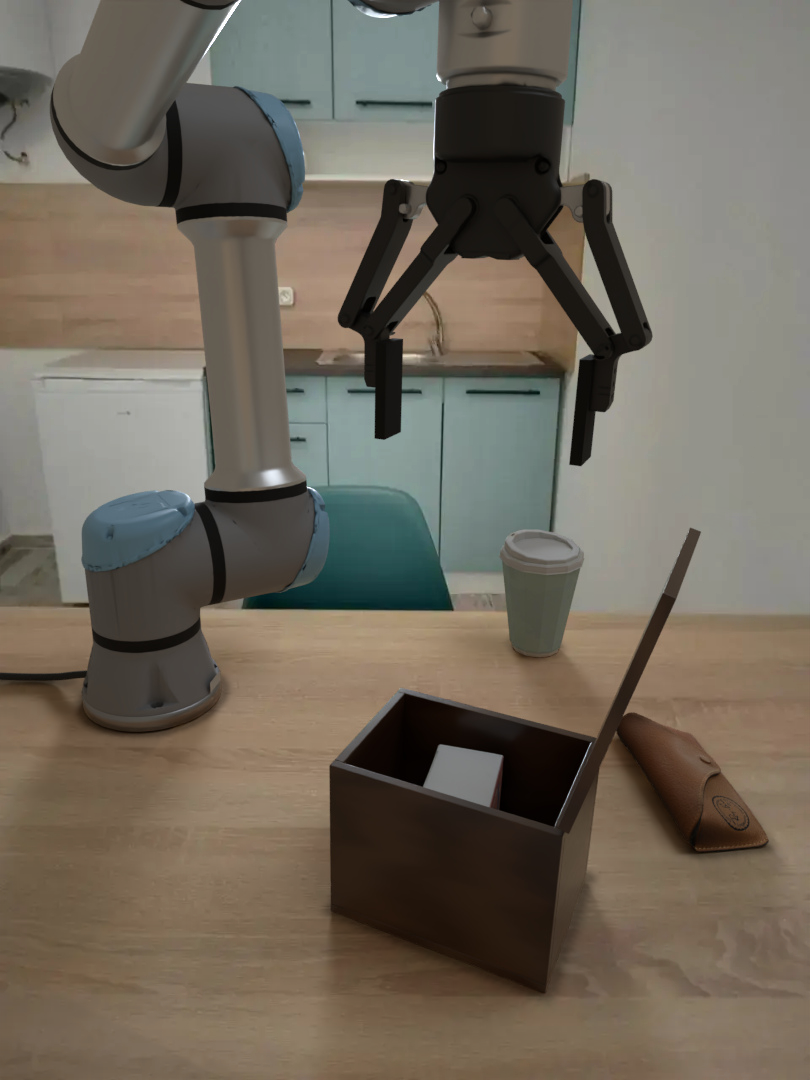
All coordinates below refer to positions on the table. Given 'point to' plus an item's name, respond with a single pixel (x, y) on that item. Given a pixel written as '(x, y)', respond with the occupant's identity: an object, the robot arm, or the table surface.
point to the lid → (631, 678)
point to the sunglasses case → (691, 786)
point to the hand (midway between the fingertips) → (479, 448)
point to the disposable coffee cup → (539, 588)
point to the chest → (461, 836)
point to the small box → (467, 775)
